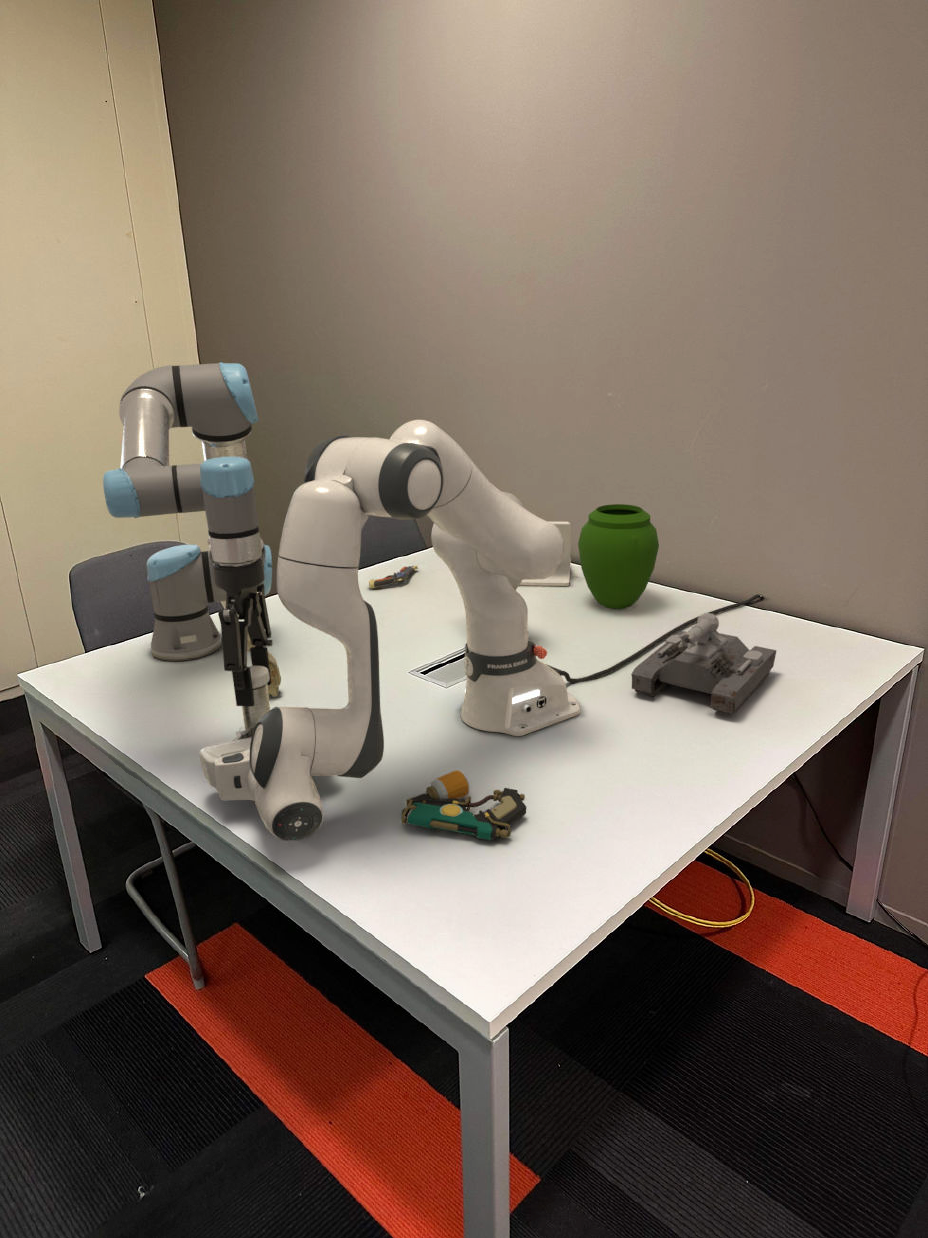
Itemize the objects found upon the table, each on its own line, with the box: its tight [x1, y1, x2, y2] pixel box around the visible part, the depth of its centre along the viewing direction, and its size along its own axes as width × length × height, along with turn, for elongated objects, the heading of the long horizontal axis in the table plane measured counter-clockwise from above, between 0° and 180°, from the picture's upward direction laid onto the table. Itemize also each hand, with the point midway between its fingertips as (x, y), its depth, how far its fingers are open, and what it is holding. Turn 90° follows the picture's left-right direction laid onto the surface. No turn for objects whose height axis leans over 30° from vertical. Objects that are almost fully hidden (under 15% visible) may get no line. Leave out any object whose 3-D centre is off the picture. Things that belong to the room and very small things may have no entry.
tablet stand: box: [519, 521, 572, 587], centre depth 236 cm, size 18×25×17 cm
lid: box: [247, 665, 270, 688], centre depth 138 cm, size 5×5×2 cm
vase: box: [577, 503, 660, 610], centre depth 210 cm, size 20×20×24 cm
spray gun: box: [401, 769, 527, 841], centre depth 128 cm, size 4×17×15 cm
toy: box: [630, 612, 777, 715], centre depth 167 cm, size 25×20×15 cm
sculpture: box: [247, 634, 282, 698], centre depth 168 cm, size 6×7×15 cm
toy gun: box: [368, 565, 419, 589], centre depth 238 cm, size 3×19×10 cm
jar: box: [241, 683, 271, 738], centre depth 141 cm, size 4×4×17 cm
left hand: (254, 694), depth 139 cm, fingers open, 7 cm apart
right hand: (258, 731), depth 143 cm, fingers closed on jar, 4 cm apart
